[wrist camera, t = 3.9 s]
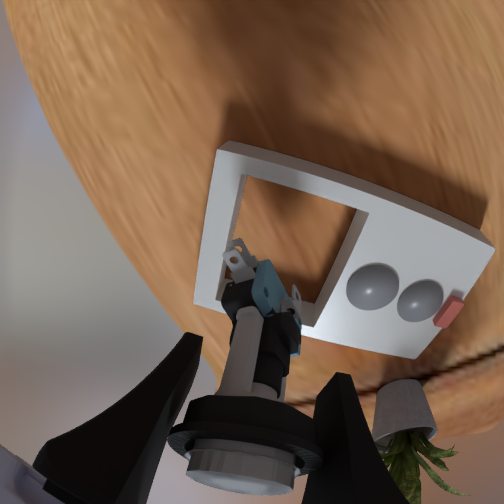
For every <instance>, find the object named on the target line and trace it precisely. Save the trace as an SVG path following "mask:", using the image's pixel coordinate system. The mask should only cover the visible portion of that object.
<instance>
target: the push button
mask: <svg viewBox="0 0 504 504" xmlns="http://www.w3.org/2000/svg"><path fill="white" fill-rule="evenodd" d="M235 246H240V247H241V248H242V252H239V250H238V249H236V248H235V249H234V247H235ZM227 247H228V248H229V251H227V252H224V253H223V254H222V257H223V258H224V260H225V261H226V263H227V265H228V266H229V268H230V270H231V271H232V273H230V275H231V277H232V279H233V282H229V283H227V284H226V286H225V289H224V292H223V295H222V298H221V305H222V307H223V309H224V310H225V312H226V313H227V315H228V316H229V318H230V319H231V320H232V324H233V329H232V332H231V336H230V343H229V344H230V351H229V355H228V358H227V362H226V366H225V370H224V373H223V377H222V381H221V385H220V387H219V390H218V391H217V392H216V393H215V394H214V395H207V396H204V397H200V398H197V399H194V400H191V401H190V402H189V405H188V408H187V412H186V414H185V417H184V421H183V423H180V424H177V425H175V426H174V427H172V429H171V430H170V433H169V436H168V439H167V440H168V443H169V445H170V447H171V448H172V449H173V450H174V451H176V452H177V453H178V454H180V455H181V456H183V457H185V458H186V459H188V460H189V465H188V468H187V472H186V475H187V476H188V477H190V478H191V479H193V480H195V481H197V482H199V483H202V484H204V485H207V486H210V487H213V488H217V489H221V490H225V491H230V492H235V493H242V494H250V495H282V494H287V493H289V492H292V491H293V487H294V478H295V477H297V476H301V475H306V474H309V473H312V472H314V471H316V470H318V469H319V468H320V467H321V466H322V464H323V451H322V449H321V448H320V447H319V446H318V445H317V436H318V430H317V425H316V421H315V420H314V419H312V418H311V417H309V416H307V415H305V414H304V413H302V412H300V411H298V410H297V409H295V408H293V407H292V406H290V405H289V404H287V403H286V402H284V397H285V387H286V377H287V375H288V374H289V365H290V357H293V356H298V355H300V346H301V330H302V322H301V318H300V317H301V315H300V312H301V296H300V294H299V291H298V289H297V287H296V285H295V284H292V300H290V298H289V296H288V294H287V292H286V290H285V288H284V286H283V284H282V282H281V281H280V279H279V277H278V275H277V273H276V271H275V269H274V267H273V265H272V263H271V261H270V260H269V259H267V260H264V261H261V262H258V261H257V259H256V258H255V256H251V255H250V253H249V251H248V249H247V247H246V246H245V244H244V242H243V240H242V239H241V238H238V239H235V240H232V241H230V242H228V243H227ZM231 257H234V259H235V260H236V262H234V263H232V262H231V261H230V258H231ZM296 295H297V298H298V300H297V298H296Z"/></svg>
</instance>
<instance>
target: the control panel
mask: <svg viewBox="0 0 504 504" xmlns="http://www.w3.org/2000/svg"><path fill="white" fill-rule="evenodd" d="M247 175H248V176H251V177H255V178H259V179H262V180H266V181H270V182H273V183H277V184H280V185H284V186H287V187H290V188H294V189H297V190H300V191H304V192H307V193H310V194H314V195H317V196H320V197H323V198H326V199H329V200H332V201H335V202H338V203H342V204H345V205H348V206H350V207H353V208H356V209H357V211H356V213H355V215H354V218H353V220H352V223H351V225H350V227H349V230H348V232H347V234H346V237H345V239H344V241H343V244H342V246H341V248H340V250H339V253H338V255H337V257H336V259H335V262H334V264H333V266H332V268H331V270H330V272H329V275H328V277H327V279H326V281H325V283H324V285H323V287H322V289H321V291H320V294H319V296H318V298H317V300H316V302H315V304H313V303H310V302H306V301H303V300H301V312H300V315H301V317H300V318H301V322H302V330H301V335H304V336H308V337H312V338H316V339H320V340H324V341H329V342H333V343H337V344H342V345H346V346H350V347H355V348H360V349H364V350H369V351H374V352H379V353H384V354H389V355H394V356H399V357H404V358H410V359H416V358H417V357H418V356H419V355H420V354H421V353H422V351H423V350H424V349H425V348H426V347H427V346H428V345H429V343H430V342H431V341H432V340H433V339H434V337H435V336H436V335H437V334H438V333H439V331H440V330H441V329H442V328H445V329H446V328H447V327H448V326H449V325H450V323H451V322H452V321H453V319H454V318H455V317H456V316H457V314H458V313H459V312H460V310H461V309H462V308H463V306H464V305H465V304H464V302H463V300H464V298H465V297H466V296H467V294H468V293H469V291H470V290H471V288H472V287H473V285H474V284H475V282H476V281H477V279H478V278H479V276H480V275H481V273H482V271H483V270H484V268H485V267H486V265H487V263H488V262H489V260H490V258H491V257H492V255H493V253H494V251H495V250H496V248H495V247H494V246H493V245H492V243H491V242H490V241H489V240H488V239H487V238H486V236H485V235H484V234H483V233H482V232H481V231H480V230H479V229H477V228H475V227H473V226H471V225H469V224H467V223H465V222H463V221H461V220H458V219H456V218H454V217H452V216H450V215H448V214H446V213H444V212H441V211H439V210H437V209H435V208H433V207H430V206H428V205H426V204H423V203H421V202H419V201H416V200H414V199H412V198H409V197H407V196H404V195H402V194H400V193H397V192H395V191H392V190H390V189H387V188H384V187H382V186H379V185H377V184H374V183H371V182H368V181H366V180H363V179H360V178H357V177H355V176H352V175H349V174H346V173H343V172H340V171H337V170H334V169H331V168H328V167H325V166H322V165H319V164H316V163H312V162H309V161H306V160H303V159H299V158H296V157H292V156H289V155H285V154H282V153H278V152H275V151H271V150H267V149H263V148H260V147H256V146H252V145H248V144H244V143H240V142H235V141H231V140H229V141H227V142H226V143H225V144H223V145H222V146H220V147H219V148H218V149H217V152H216V157H215V163H214V168H213V174H212V179H211V185H210V191H209V197H208V203H207V209H206V215H205V222H204V228H203V235H202V241H201V248H200V255H199V262H198V270H197V277H196V285H195V293H194V301H193V304H196V305H199V306H203V307H206V308H209V309H212V310H215V311H219V312H222V313H225V314H227V313H226V312H225V310H224V309H223V307H222V305H221V298H222V295H223V292H224V289H225V286H226V284H227V283H229V282H233V280H229V279H226V278H225V273H226V269H227V263H226V261H225V260H224V258H223V257H222V254H223V253H224V252H227V251H229V248H228V247H227V243H228V242H230V241H232V240H233V236H234V232H235V227H236V223H237V218H238V214H239V209H240V205H241V200H242V196H243V192H244V187H245V183H246V178H247ZM289 298H290V300H292V297H289ZM297 300H298V299H297Z"/></svg>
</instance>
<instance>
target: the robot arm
mask: <svg viewBox="0 0 504 504" xmlns="http://www.w3.org/2000/svg"><path fill="white" fill-rule="evenodd" d="M202 342H203V337H202V336H199V335H196V334H193V333H190V332H186V333H185V334H184V335H183V337H182V338H181V339H180V341H179V342H178V343H177V344H176V346H175V347H174V348H173V349H172V351H171V352H170V353H169V354H168V355H167V356H166V357H165V359H164V360H163V361H162V362H161V363H160V364H159V365H158V366H157V367H156V368H155V369H154V370H153V371H152V372H151V373H150V374H149V375H148V376H147V377H146V378H145V379H144V380H143V381H142V382H140V383H139V384H138V385H137V386H136V387H135V388H134V389H133V390H131V391H130V392H129V393H128V394H126V395H125V396H124V397H123V398H122V399H120V400H119V401H118V402H116V403H115V404H114V405H112V406H111V407H109V408H108V409H106V410H105V411H103V412H102V413H101V414H99V415H97V416H96V417H94V418H92V419H91V420H89V421H87V422H85V423H84V424H82V425H80V426H78V427H76V428H75V429H73V430H71V431H69V432H67V433H64V434H62V435H60V436H58V437H56V438H53V439H51V440H49V441H47V442H46V443H45V445H44V446H43V447H42V449H41V450H40V451H39V453H38V455H37V457H36V459H35V461H34V463H33V465H32V466H33V467H32V466H31V465H29V464H28V463H27V462H25V461H24V460H23V459H21V458H20V457H18V456H16V455H14V454H13V453H11V452H10V451H8V450H7V449H6V448H5V447H3V446H2V445H0V504H146V502H147V499H148V496H149V492H150V489H151V486H152V483H153V479H154V476H155V473H156V470H157V467H158V464H159V461H160V458H161V455H162V452H163V449H164V446H165V444H166V441H167V438H168V436H169V433H170V430H171V429H172V427H173V425H174V423H175V420H176V418H177V416H178V414H179V412H180V410H181V408H182V406H183V403H184V402H185V399H186V397H187V395H188V393H189V391H190V389H191V386H192V383H193V380H194V378H195V375H196V372H197V369H198V366H199V361H200V354H201V348H202ZM313 419H314V420H315V421H316V425H317V430H318V436H317V445H318V446H319V447H320V448H321V449H322V451H323V464H322V466H321V467H320V468H319V469H318V470H316V471H314V472H312V473H309V474H308V479H307V483H306V488H305V492H304V496H303V500H302V504H410V503H409V502H408V500H407V499H406V498H405V496H404V495H403V493H402V492H401V490H400V489H399V487H398V486H397V484H396V483H395V481H394V480H393V478H392V476H391V475H390V473H389V471H388V469H387V467H386V466H385V464H384V462H383V460H382V458H381V456H380V453H379V451H378V449H377V447H376V445H375V442H374V440H373V437H372V435H371V432H370V430H369V427H368V424H367V422H366V419H365V416H364V413H363V411H362V408H361V405H360V402H359V399H358V396H357V393H356V389H355V386H354V383H353V380H352V377H351V375H350V374H345V373H339V372H336V373H335V375H334V376H333V377H332V378H331V380H330V381H329V382H328V383H327V385H326V386H325V387H324V388H323V389H322V391H321V392H320V393H319V394H318V395H317V398H316V404H315V409H314V415H313Z"/></svg>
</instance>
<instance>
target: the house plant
mask: <svg viewBox="0 0 504 504" xmlns="http://www.w3.org/2000/svg"><path fill="white" fill-rule="evenodd" d="M437 430H438V429H437V426H436V423H435V421H434V418H433V415H432V412H431V409H430V407H429V404H428V401H427V399H426V396H425V394H424V391H423V388H422V386H421V384H420V382H419V381H417V380H414V379H400V380H396V381H393V382H391V383H388V384H387V385H385V386H383V387H382V388H381V389H380V390H379V391H378V392H377V397H376V406H375V414H374V422H373V429H372V437H373V440H374V442H375V445H376V447H377V449H378V451H379V453H380V456H381V458H382V459H384V461H383V462H384V464H385V466H386V467H387V468H388V467H389V465H390V464H391V466H390V469H389V473H390V475H391V476H392V478H393V480H394V481H395V483H396V484H397V486H398V487H399V489H400V490H401V492H402V493H403V495H404V496H405V498H406V499H407V500H408V502H409V503H410V504H421V482H420V479H419V477H420V469H419V464H420V465H421V466H422V467H423V469H425V471H426V472H427V473H428V475H429V476H430V477H431V478H432V479H433V481H434V482H435V483H436V484H437V485H438V486H440V487H441V488H442V489H444V490H445V491H447V492H450V493H452V494H456V495H460V496H468V495H465V494H462V493H459V492H457V491H455V490H456V489H455V490H454V488H452V487H450V486H448V485H447V484H446V483H445V482H444V481H443V480H442V479H441V478H440V477H439V476H438V475H437V474H436V473H435V472H434V471H433V470H432V469H431V467H430V466H429V465H428V464H427V463H426V462H425V461H424V459H423V458H422V457H421V456H420V455H419V454H418V453H417V451H418V452H419V453H421V454H422V455H424V456H425V457H426V458H427V459H429V460H430V461H431V462H432V463H433V464H434V465H436V466H438V467H439V468H440V469H442V470H444V471H449V470H448V468H447V467H446V465H445V463H444V462H443V461H442V460H441V459H439V458H445V457H451V456H454V455H455V454H457V453H458V452H454V451H452V449H453V448H454V446H453V447H452V448H451V449H449V450H443V449H440V448H437V447H435V446H434V445H432V444H431V443H430V442H429V440H431V439H432V438H433V437H434V436H435V435H436V434H437ZM423 444H424V445H425V446H426V447H427V448H428V449H427V448H426V447H425V446H424V445H423ZM385 452H388V453H385ZM418 463H419V464H418Z"/></svg>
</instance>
